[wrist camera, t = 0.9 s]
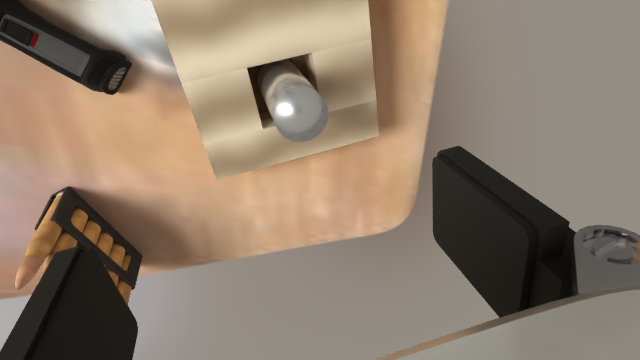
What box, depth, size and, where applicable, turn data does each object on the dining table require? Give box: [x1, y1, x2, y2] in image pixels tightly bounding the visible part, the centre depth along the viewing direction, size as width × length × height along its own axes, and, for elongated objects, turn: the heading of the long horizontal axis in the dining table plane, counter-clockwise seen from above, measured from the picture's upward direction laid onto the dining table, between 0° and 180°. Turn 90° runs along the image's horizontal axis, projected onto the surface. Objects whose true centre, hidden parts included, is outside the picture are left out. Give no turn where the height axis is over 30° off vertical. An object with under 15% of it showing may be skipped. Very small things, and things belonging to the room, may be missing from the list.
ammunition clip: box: [15, 187, 142, 305], centre depth 34 cm, size 11×2×12 cm, turn 24°
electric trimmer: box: [0, 0, 131, 95], centre depth 28 cm, size 4×16×3 cm, turn 52°
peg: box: [257, 59, 328, 142], centre depth 32 cm, size 4×4×10 cm
